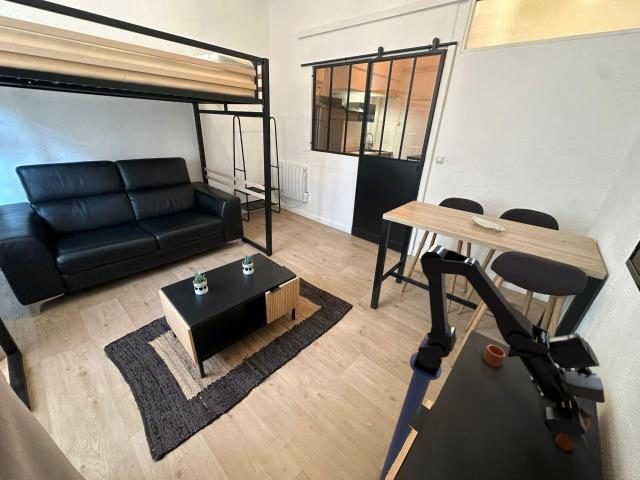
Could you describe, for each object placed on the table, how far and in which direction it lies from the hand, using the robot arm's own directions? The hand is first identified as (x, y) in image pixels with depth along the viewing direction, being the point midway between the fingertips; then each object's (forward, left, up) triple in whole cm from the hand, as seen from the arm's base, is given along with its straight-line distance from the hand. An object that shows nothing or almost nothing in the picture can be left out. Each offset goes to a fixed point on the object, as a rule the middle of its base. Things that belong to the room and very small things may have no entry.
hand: (582, 429), depth 58 cm
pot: (-16, +20, -7) cm, 26 cm away
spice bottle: (-1, 0, -7) cm, 7 cm away
